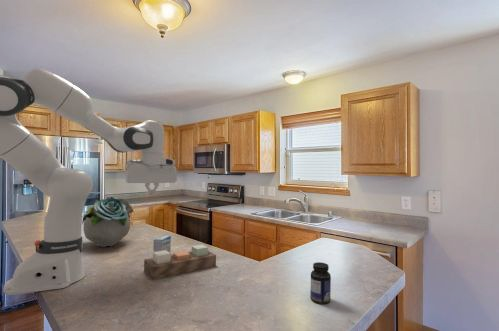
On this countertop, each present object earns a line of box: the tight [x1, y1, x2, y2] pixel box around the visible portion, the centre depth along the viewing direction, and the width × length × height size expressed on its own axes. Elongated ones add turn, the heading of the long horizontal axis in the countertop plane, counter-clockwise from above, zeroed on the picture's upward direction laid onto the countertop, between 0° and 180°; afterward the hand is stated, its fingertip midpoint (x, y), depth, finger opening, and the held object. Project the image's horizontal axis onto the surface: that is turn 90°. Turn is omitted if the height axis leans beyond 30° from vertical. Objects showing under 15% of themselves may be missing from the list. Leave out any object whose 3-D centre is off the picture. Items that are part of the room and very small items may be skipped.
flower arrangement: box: [82, 196, 134, 248], centre depth 141 cm, size 25×25×24 cm
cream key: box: [152, 250, 172, 264], centre depth 107 cm, size 5×5×4 cm
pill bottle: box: [309, 262, 332, 305], centre depth 87 cm, size 6×6×11 cm
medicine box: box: [152, 234, 172, 253], centre depth 126 cm, size 8×4×9 cm, turn 168°
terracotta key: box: [172, 250, 190, 261], centre depth 111 cm, size 5×5×4 cm
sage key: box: [190, 244, 209, 257], centre depth 116 cm, size 5×5×4 cm
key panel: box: [143, 250, 217, 281], centre depth 111 cm, size 26×10×4 cm, turn 127°
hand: (151, 193), depth 115 cm, fingers closed
